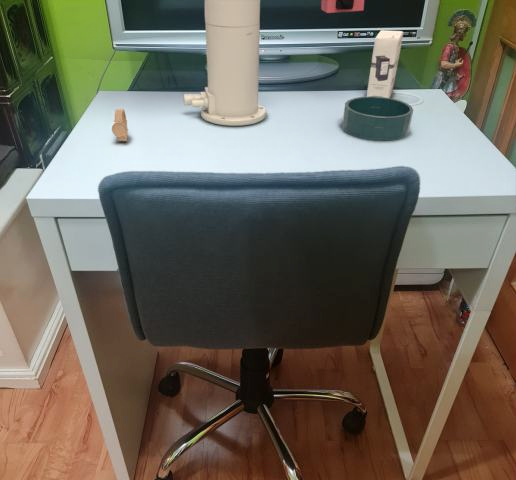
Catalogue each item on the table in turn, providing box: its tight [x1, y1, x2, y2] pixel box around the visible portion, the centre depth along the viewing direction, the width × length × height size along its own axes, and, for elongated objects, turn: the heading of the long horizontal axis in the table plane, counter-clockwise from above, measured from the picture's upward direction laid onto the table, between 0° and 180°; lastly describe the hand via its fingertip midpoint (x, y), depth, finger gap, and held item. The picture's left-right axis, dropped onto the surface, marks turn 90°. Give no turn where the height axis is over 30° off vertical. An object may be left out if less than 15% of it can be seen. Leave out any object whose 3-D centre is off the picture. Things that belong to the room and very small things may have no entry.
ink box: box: [366, 29, 404, 98], centre depth 107 cm, size 8×5×12 cm, turn 162°
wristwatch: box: [111, 108, 129, 142], centre depth 86 cm, size 3×5×5 cm, turn 4°
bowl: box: [341, 96, 414, 142], centre depth 94 cm, size 12×12×4 cm
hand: (340, 5), depth 95 cm, fingers closed on eraser, 4 cm apart
